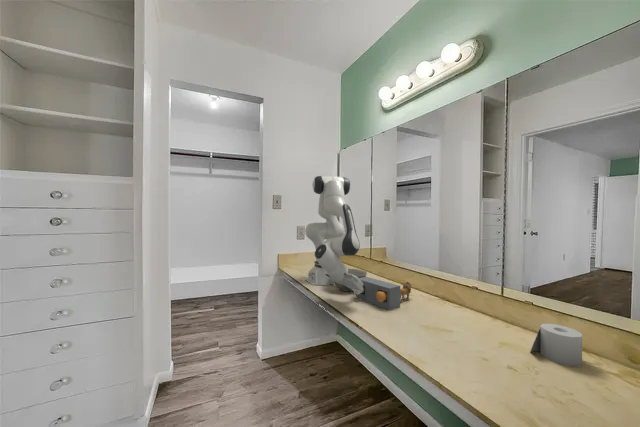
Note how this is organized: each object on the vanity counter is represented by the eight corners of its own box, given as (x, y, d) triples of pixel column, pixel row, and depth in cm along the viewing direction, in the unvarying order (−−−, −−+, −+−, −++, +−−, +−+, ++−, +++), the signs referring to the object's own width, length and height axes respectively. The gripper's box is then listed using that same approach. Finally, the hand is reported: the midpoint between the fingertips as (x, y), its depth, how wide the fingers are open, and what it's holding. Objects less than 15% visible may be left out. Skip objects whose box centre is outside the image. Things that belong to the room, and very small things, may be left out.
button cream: (353, 293, 129) (353, 284, 130) (359, 292, 132) (359, 283, 132) (359, 296, 126) (359, 286, 126) (366, 294, 128) (366, 285, 128)
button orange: (375, 300, 119) (375, 290, 119) (382, 298, 122) (382, 288, 122) (383, 303, 115) (383, 292, 115) (390, 301, 118) (390, 291, 118)
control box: (355, 297, 133) (356, 278, 133) (366, 294, 138) (366, 276, 138) (389, 310, 115) (389, 288, 115) (400, 306, 120) (400, 285, 120)
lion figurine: (404, 296, 135) (404, 279, 136) (413, 298, 132) (413, 281, 132) (389, 302, 125) (389, 284, 126) (399, 305, 122) (399, 287, 122)
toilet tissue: (522, 351, 81) (522, 324, 81) (559, 349, 82) (559, 323, 82) (550, 368, 72) (550, 338, 72) (591, 366, 73) (591, 336, 73)
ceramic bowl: (324, 292, 141) (324, 275, 141) (334, 282, 163) (334, 267, 163) (363, 297, 134) (363, 278, 134) (369, 285, 156) (369, 269, 156)
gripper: (357, 270, 114) (371, 288, 119) (329, 263, 130) (343, 279, 136) (349, 281, 111) (365, 299, 116) (322, 273, 127) (337, 289, 133)
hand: (353, 289), depth 126 cm, fingers closed
